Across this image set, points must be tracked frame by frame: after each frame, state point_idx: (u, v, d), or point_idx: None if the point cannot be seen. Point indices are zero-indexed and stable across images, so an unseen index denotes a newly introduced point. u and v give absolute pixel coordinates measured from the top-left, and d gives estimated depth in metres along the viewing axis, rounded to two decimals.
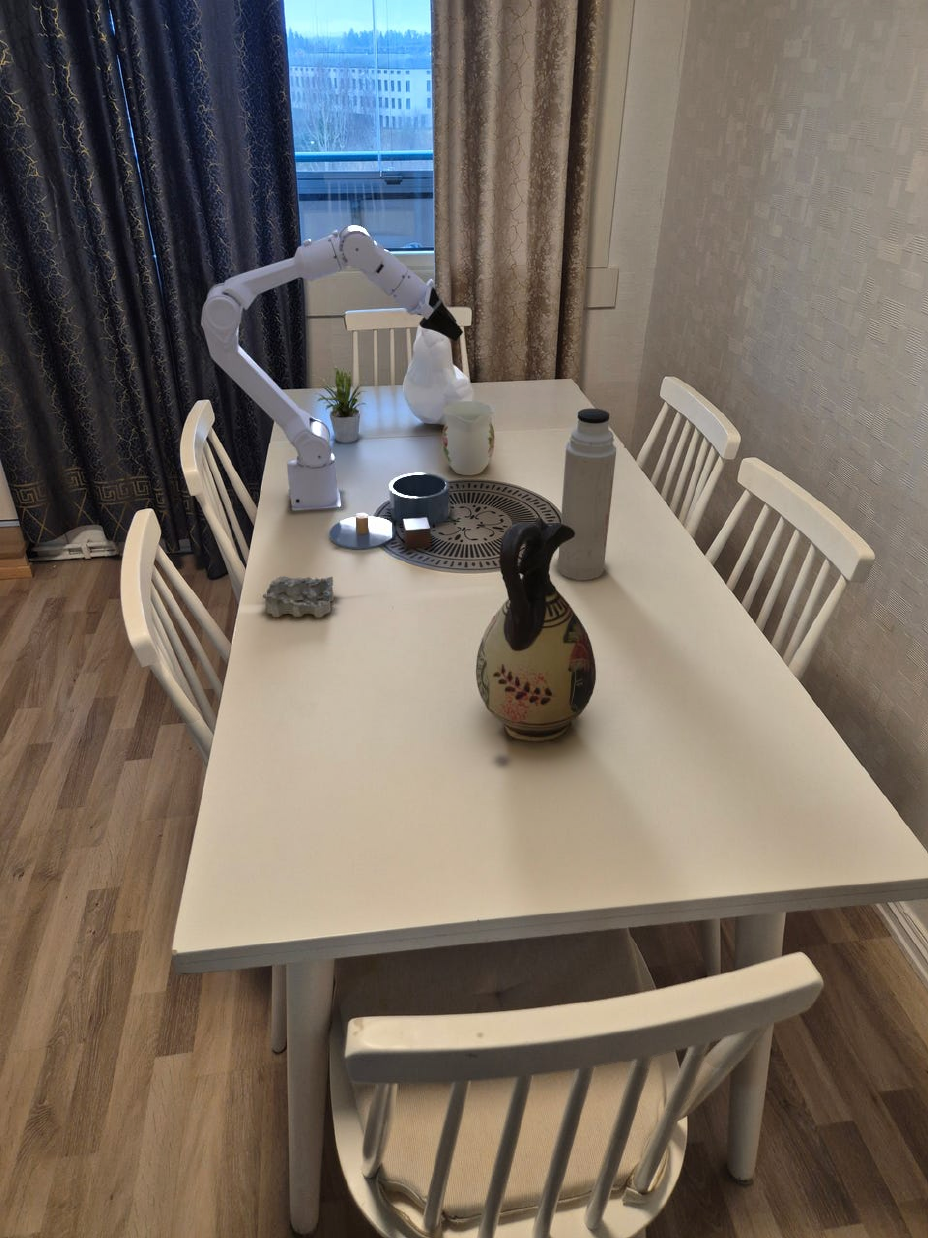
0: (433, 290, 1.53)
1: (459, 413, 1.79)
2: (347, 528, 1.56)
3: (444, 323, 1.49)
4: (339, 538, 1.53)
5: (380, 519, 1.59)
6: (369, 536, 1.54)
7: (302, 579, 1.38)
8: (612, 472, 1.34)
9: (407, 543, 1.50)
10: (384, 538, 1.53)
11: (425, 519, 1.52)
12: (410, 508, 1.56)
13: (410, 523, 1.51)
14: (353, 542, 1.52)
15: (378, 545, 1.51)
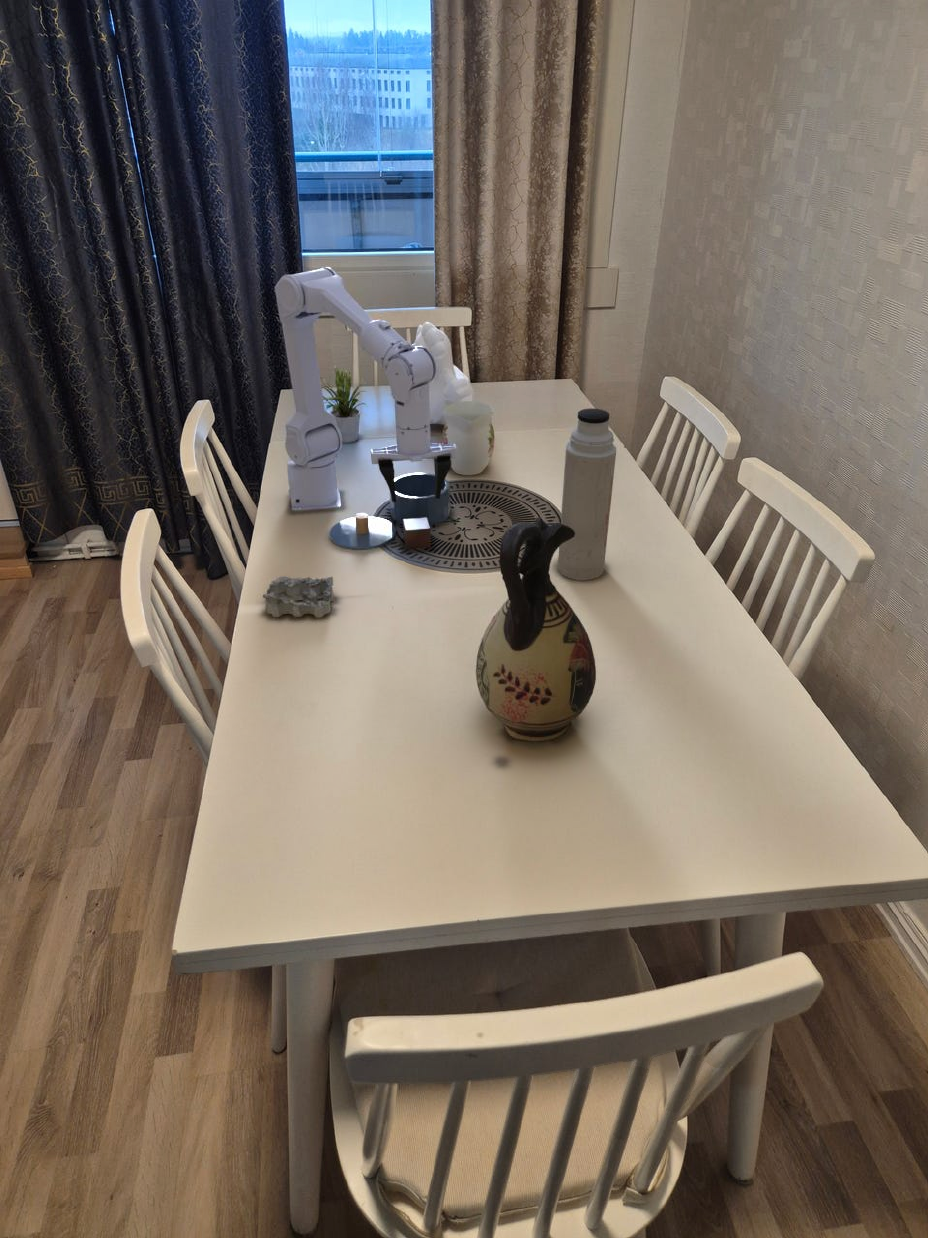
0: (437, 466, 1.43)
1: (459, 413, 1.79)
2: (347, 528, 1.56)
3: None
4: (339, 538, 1.53)
5: (380, 519, 1.59)
6: (369, 536, 1.54)
7: (302, 579, 1.38)
8: (612, 472, 1.34)
9: (407, 543, 1.50)
10: (384, 538, 1.53)
11: (425, 519, 1.52)
12: (410, 508, 1.56)
13: (410, 523, 1.51)
14: (353, 542, 1.52)
15: (378, 545, 1.51)
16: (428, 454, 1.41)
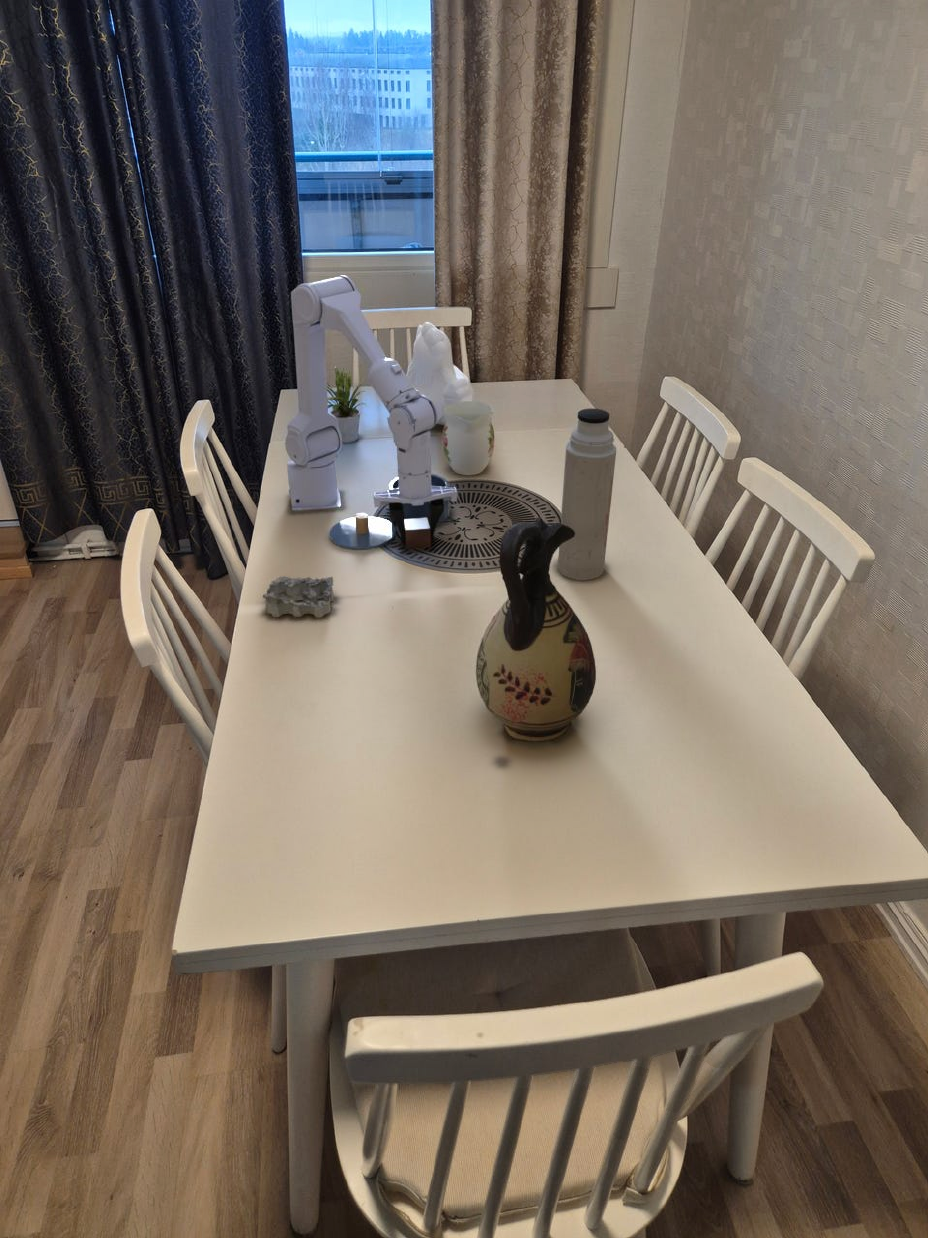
0: (430, 509, 1.47)
1: (459, 413, 1.79)
2: (347, 528, 1.56)
3: None
4: (339, 538, 1.53)
5: (380, 519, 1.59)
6: (369, 536, 1.54)
7: (302, 579, 1.38)
8: (612, 472, 1.34)
9: (407, 543, 1.50)
10: (384, 538, 1.53)
11: (425, 519, 1.52)
12: (410, 508, 1.56)
13: (410, 523, 1.51)
14: (353, 542, 1.52)
15: (378, 545, 1.51)
16: (429, 498, 1.46)
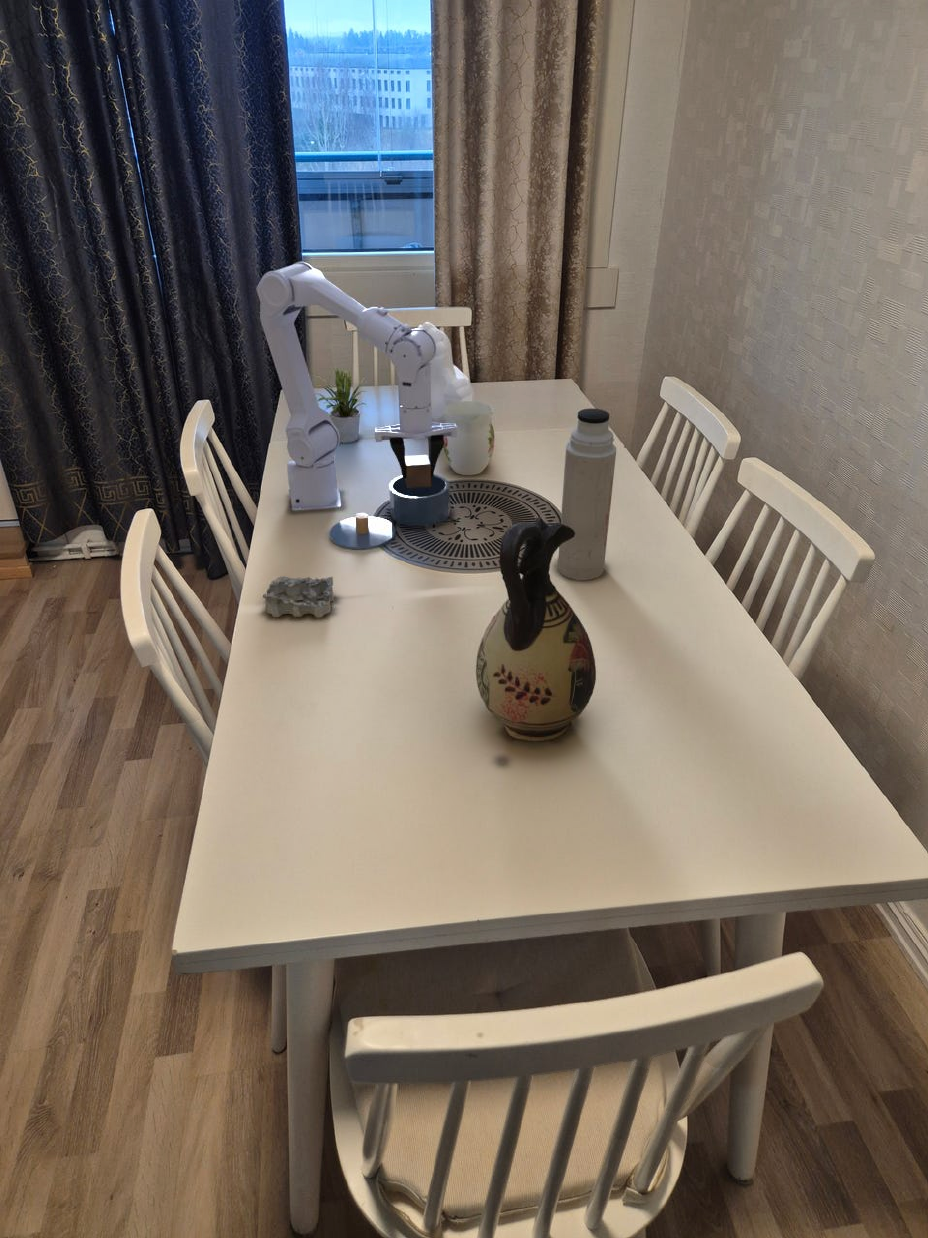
0: (431, 444, 1.49)
1: (459, 413, 1.79)
2: (347, 528, 1.56)
3: None
4: (339, 538, 1.53)
5: (380, 519, 1.59)
6: (369, 536, 1.54)
7: (302, 579, 1.38)
8: (612, 472, 1.34)
9: (408, 479, 1.53)
10: (384, 538, 1.53)
11: (426, 456, 1.55)
12: (410, 508, 1.56)
13: (411, 459, 1.53)
14: (353, 542, 1.52)
15: (378, 545, 1.51)
16: (429, 432, 1.48)
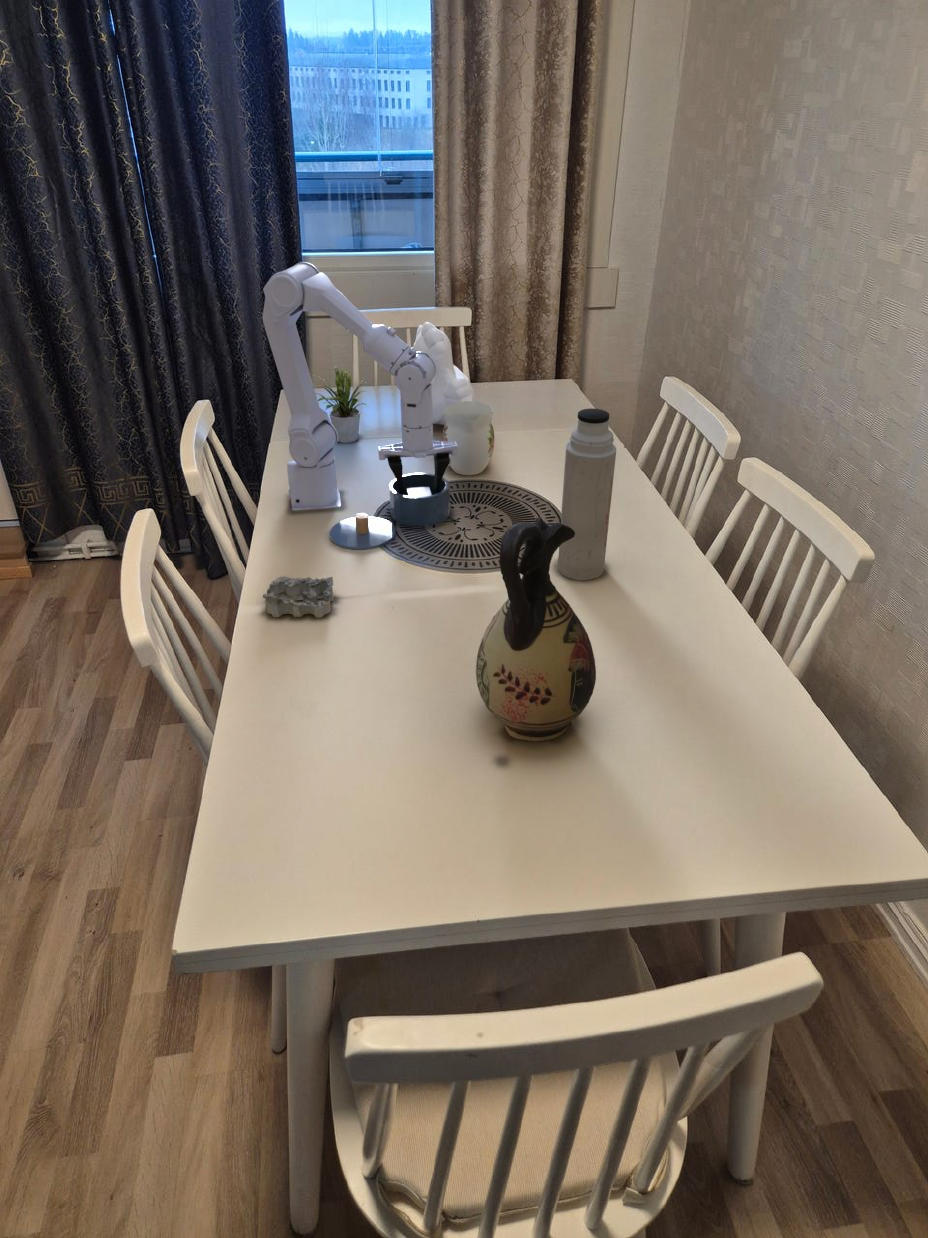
0: (437, 462, 1.55)
1: (459, 413, 1.79)
2: (347, 528, 1.56)
3: None
4: (339, 538, 1.53)
5: (380, 519, 1.59)
6: (369, 536, 1.54)
7: (302, 579, 1.38)
8: (612, 472, 1.34)
9: None
10: (384, 538, 1.53)
11: (427, 488, 1.62)
12: (410, 508, 1.56)
13: (413, 491, 1.61)
14: (353, 542, 1.52)
15: (378, 545, 1.51)
16: (431, 451, 1.54)
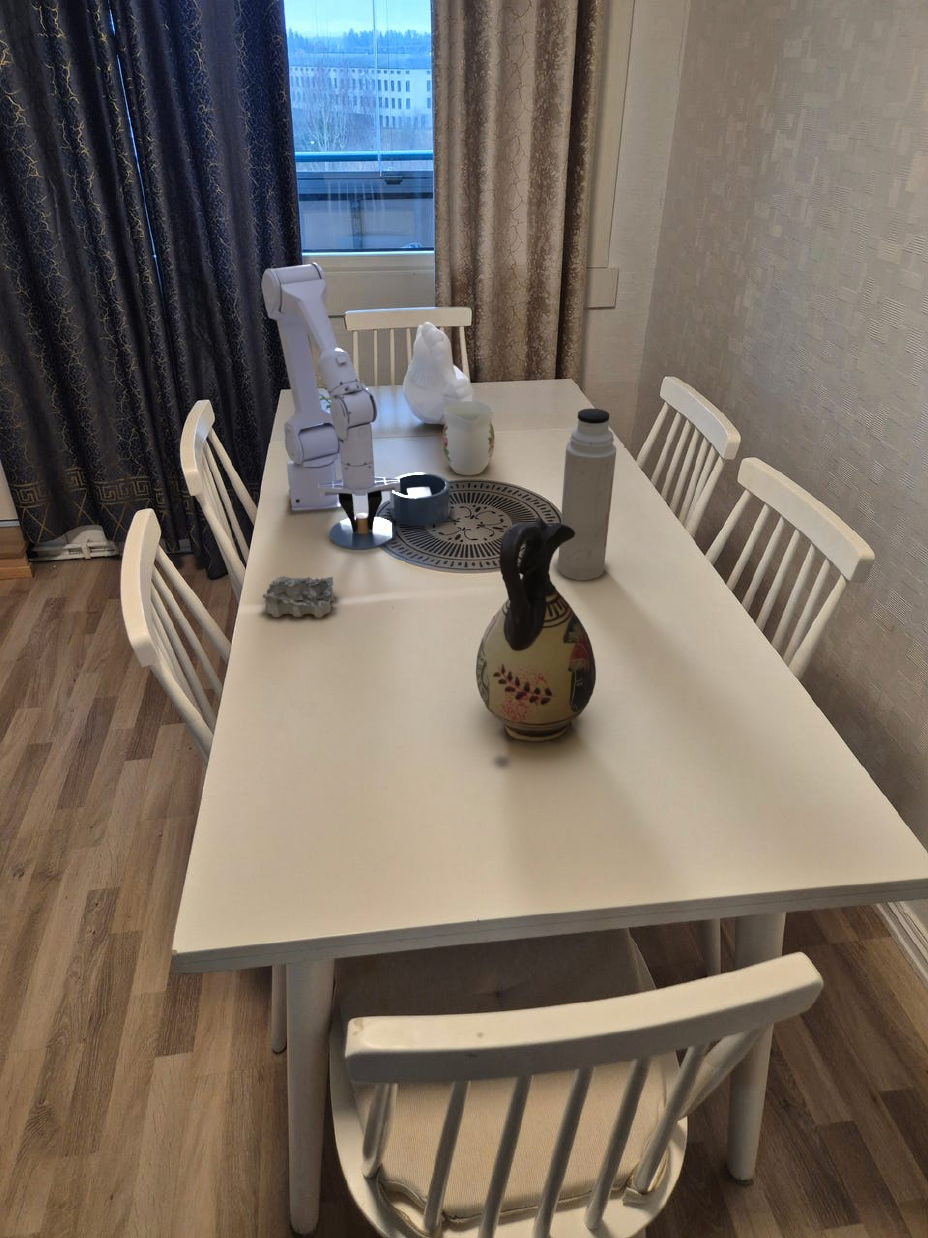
0: (368, 500, 1.50)
1: (459, 413, 1.79)
2: (347, 528, 1.56)
3: None
4: (339, 538, 1.53)
5: (380, 519, 1.59)
6: (369, 536, 1.54)
7: (302, 579, 1.38)
8: (612, 472, 1.34)
9: None
10: (384, 538, 1.53)
11: (427, 488, 1.62)
12: (410, 508, 1.56)
13: (413, 491, 1.61)
14: (353, 542, 1.52)
15: (378, 545, 1.51)
16: (372, 488, 1.48)
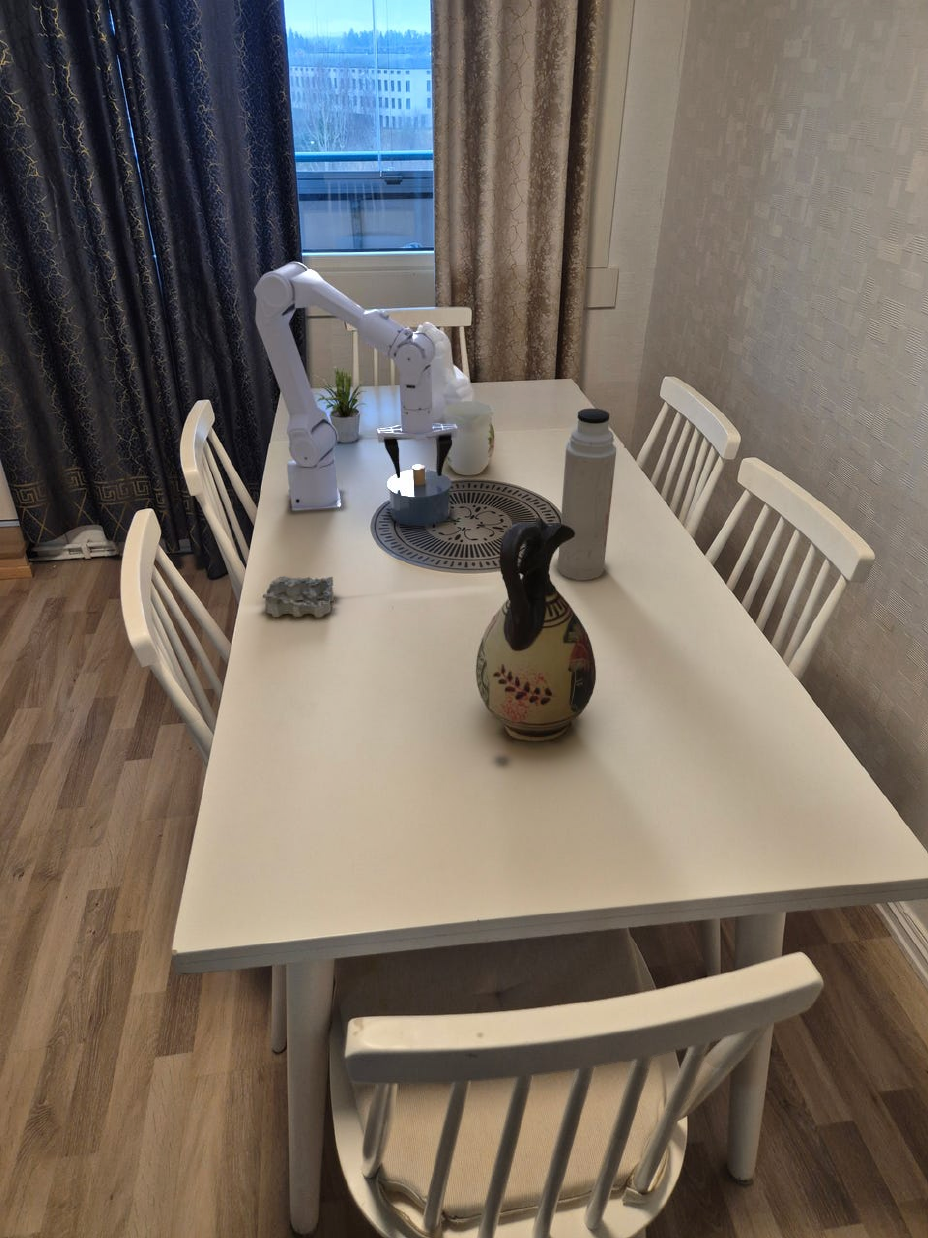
0: (439, 444, 1.53)
1: (459, 413, 1.79)
2: (404, 480, 1.60)
3: None
4: (397, 489, 1.57)
5: (435, 472, 1.63)
6: (426, 487, 1.58)
7: (302, 579, 1.38)
8: (612, 472, 1.34)
9: None
10: (441, 489, 1.57)
11: None
12: (410, 508, 1.56)
13: None
14: (411, 492, 1.56)
15: (436, 495, 1.55)
16: (430, 433, 1.52)
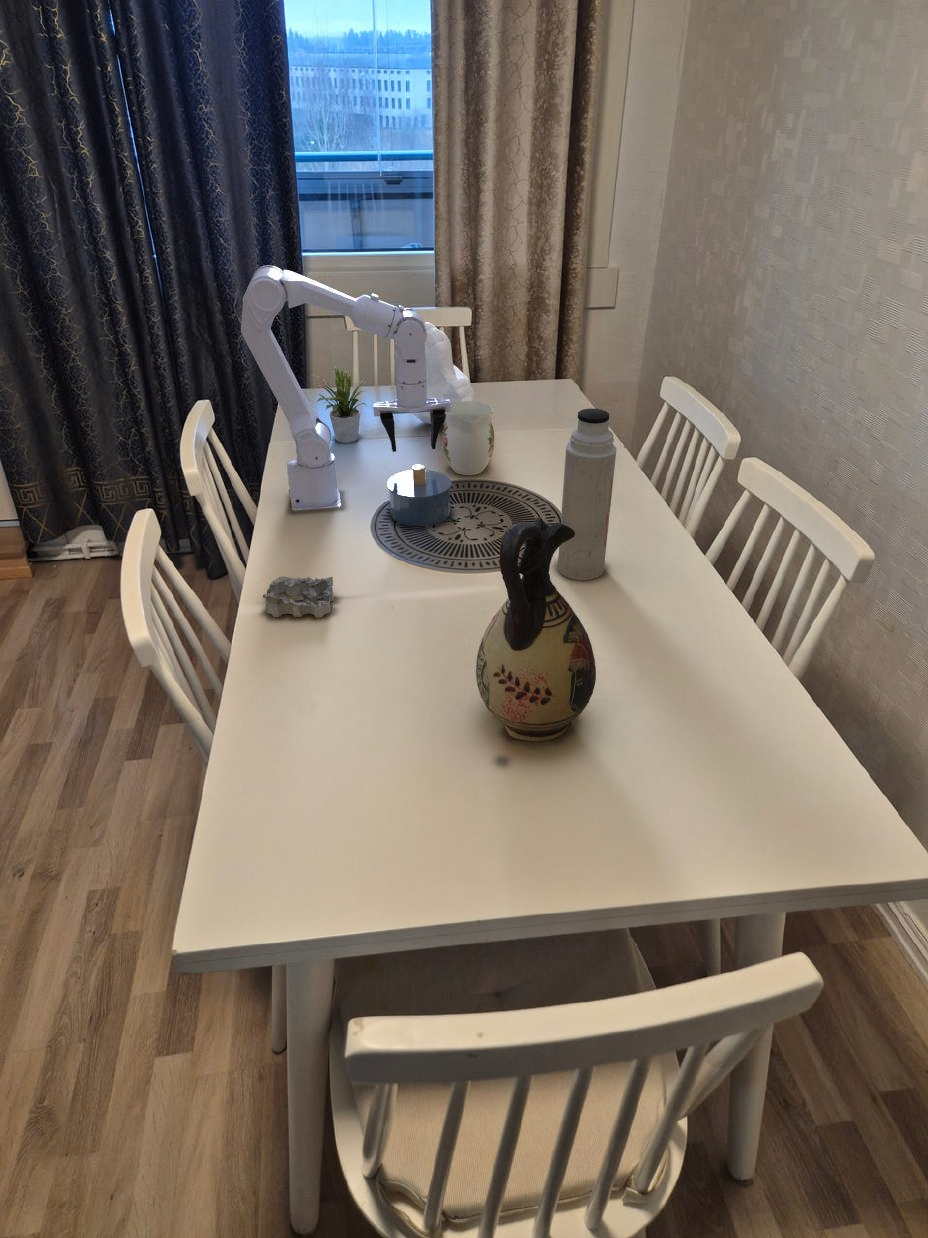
0: (433, 418, 1.59)
1: (459, 413, 1.79)
2: (404, 480, 1.60)
3: None
4: (397, 489, 1.57)
5: (435, 472, 1.63)
6: (426, 487, 1.58)
7: (302, 579, 1.38)
8: (612, 472, 1.34)
9: None
10: (441, 489, 1.57)
11: None
12: (410, 508, 1.56)
13: None
14: (411, 492, 1.56)
15: (436, 495, 1.55)
16: (425, 407, 1.57)
